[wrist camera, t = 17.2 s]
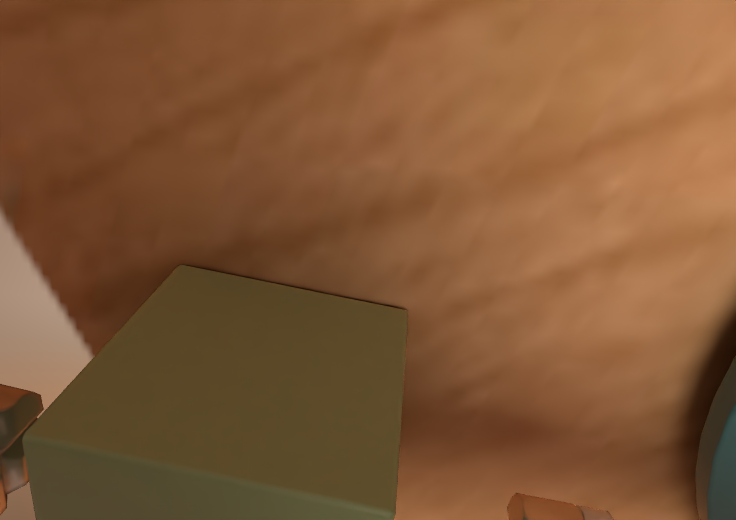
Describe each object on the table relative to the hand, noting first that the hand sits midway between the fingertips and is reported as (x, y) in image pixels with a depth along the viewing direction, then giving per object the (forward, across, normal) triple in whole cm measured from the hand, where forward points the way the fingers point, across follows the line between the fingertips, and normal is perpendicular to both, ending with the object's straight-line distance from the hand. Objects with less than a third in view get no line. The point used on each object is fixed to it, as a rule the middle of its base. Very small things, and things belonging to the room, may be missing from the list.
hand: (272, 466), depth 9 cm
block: (+2, 0, 0) cm, 2 cm away
